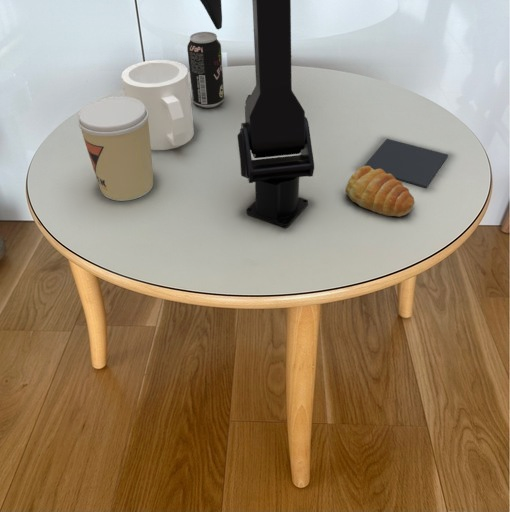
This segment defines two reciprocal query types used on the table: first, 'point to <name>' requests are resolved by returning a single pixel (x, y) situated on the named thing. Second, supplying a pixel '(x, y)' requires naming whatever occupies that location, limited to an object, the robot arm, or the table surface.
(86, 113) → the coffee cup
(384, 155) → the coaster
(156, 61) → the mug
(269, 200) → the robot arm
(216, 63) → the beverage can
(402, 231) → the table surface
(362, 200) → the pastry
